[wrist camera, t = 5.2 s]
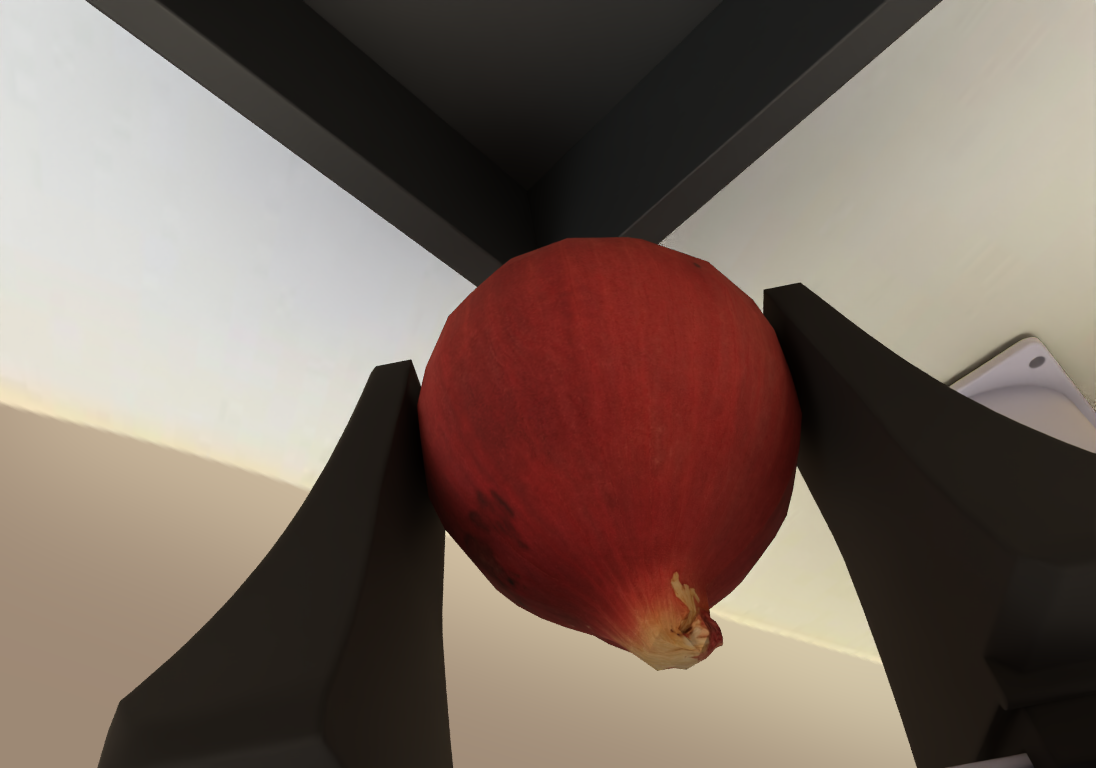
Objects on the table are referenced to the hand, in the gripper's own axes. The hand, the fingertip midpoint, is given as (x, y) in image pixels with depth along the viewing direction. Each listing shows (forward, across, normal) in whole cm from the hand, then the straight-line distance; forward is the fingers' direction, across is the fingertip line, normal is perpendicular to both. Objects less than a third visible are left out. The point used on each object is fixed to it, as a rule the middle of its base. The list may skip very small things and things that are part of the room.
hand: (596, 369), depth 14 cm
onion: (+3, 0, 0) cm, 3 cm away
